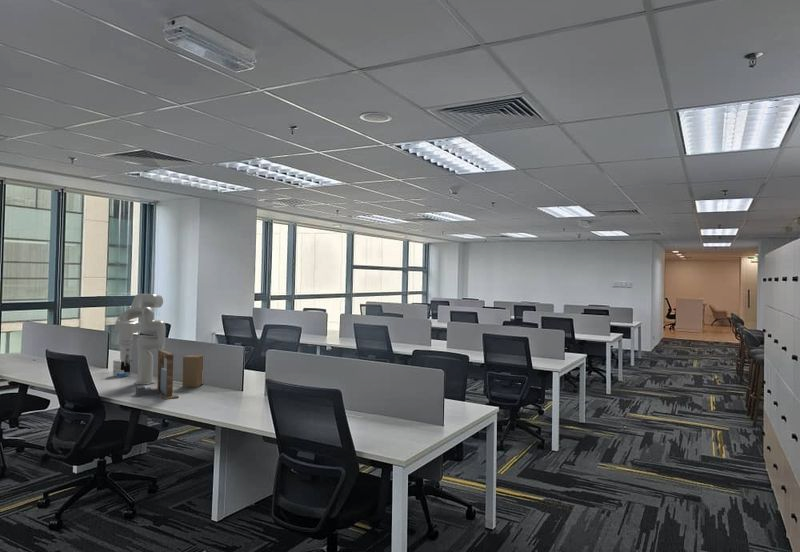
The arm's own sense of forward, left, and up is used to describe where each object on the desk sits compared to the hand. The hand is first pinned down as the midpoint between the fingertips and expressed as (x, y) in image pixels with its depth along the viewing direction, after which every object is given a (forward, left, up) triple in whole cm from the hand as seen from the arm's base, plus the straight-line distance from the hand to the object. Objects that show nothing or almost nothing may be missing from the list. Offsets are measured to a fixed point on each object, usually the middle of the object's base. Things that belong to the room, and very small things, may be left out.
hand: (125, 371), depth 324 cm
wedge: (-1, +13, -16) cm, 20 cm away
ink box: (-73, +12, -16) cm, 75 cm away
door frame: (+4, +22, -15) cm, 27 cm away
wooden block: (-12, +44, -16) cm, 48 cm away
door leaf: (+5, +22, -15) cm, 27 cm away
